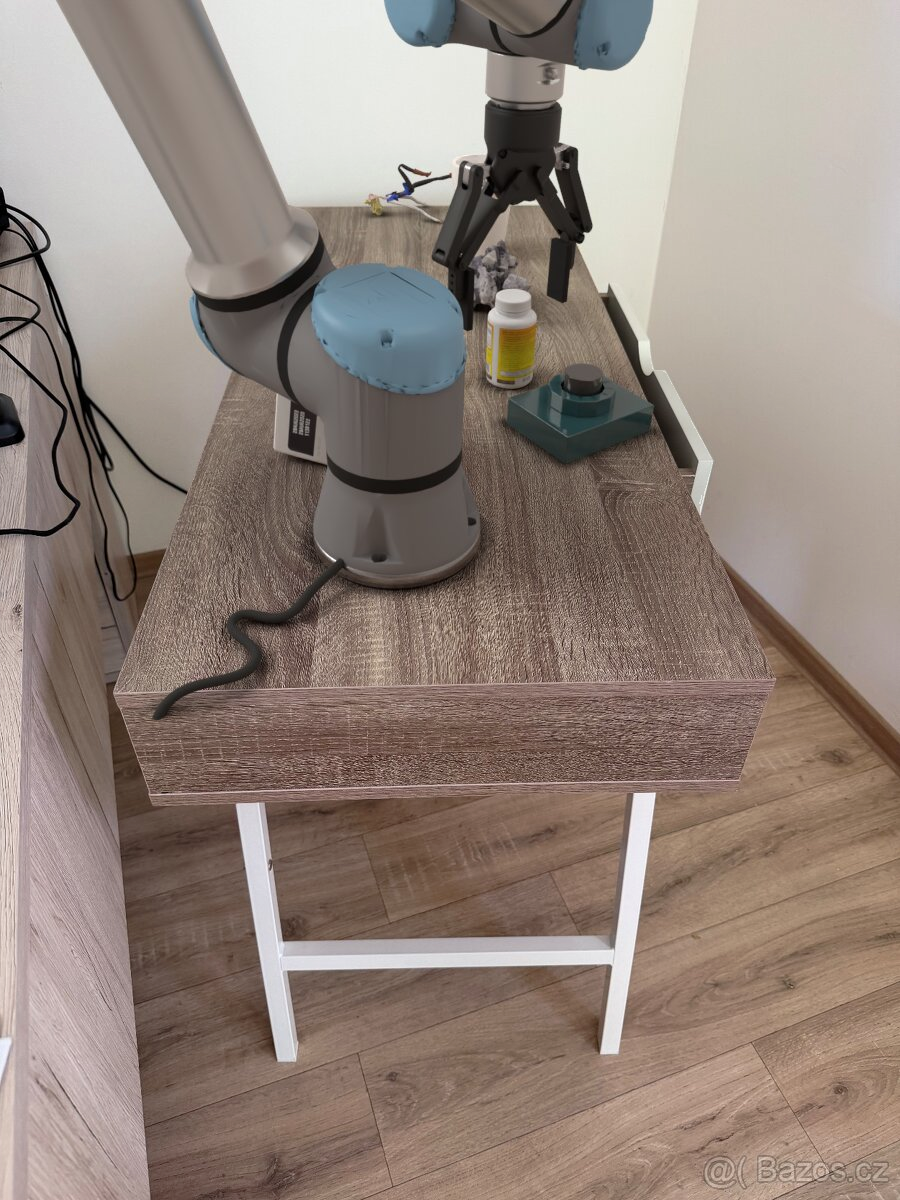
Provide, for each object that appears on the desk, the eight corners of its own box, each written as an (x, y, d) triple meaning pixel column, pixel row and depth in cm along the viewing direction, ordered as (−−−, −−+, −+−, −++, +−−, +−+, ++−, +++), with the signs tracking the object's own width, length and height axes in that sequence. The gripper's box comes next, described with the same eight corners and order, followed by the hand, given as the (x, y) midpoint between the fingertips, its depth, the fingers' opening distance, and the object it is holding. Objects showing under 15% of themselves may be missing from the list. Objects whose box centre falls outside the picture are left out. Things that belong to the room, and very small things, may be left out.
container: (343, 470, 93) (357, 348, 86) (272, 451, 94) (279, 328, 86) (366, 440, 100) (381, 324, 92) (299, 422, 100) (308, 305, 93)
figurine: (368, 247, 160) (479, 213, 157) (361, 247, 152) (477, 211, 149) (350, 185, 157) (463, 149, 154) (342, 181, 148) (461, 144, 146)
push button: (580, 402, 95) (582, 384, 94) (555, 387, 98) (557, 369, 96) (608, 392, 97) (611, 374, 95) (584, 377, 99) (585, 359, 98)
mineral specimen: (537, 303, 116) (512, 224, 114) (468, 329, 118) (442, 251, 116) (537, 312, 128) (514, 240, 126) (474, 335, 129) (451, 265, 128)
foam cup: (440, 247, 141) (441, 157, 133) (494, 239, 144) (497, 150, 136) (467, 269, 135) (469, 175, 126) (523, 259, 138) (528, 167, 129)
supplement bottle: (542, 380, 108) (549, 296, 102) (508, 395, 106) (513, 309, 99) (509, 364, 111) (513, 281, 105) (475, 378, 109) (478, 294, 102)
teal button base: (565, 464, 94) (569, 421, 91) (506, 423, 101) (508, 382, 97) (649, 431, 100) (657, 389, 96) (589, 394, 106) (593, 354, 103)
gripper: (442, 125, 81) (440, 351, 95) (642, 92, 92) (614, 298, 106) (395, 108, 85) (399, 326, 99) (591, 79, 97) (571, 278, 111)
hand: (510, 312), depth 103 cm, fingers open, 13 cm apart
